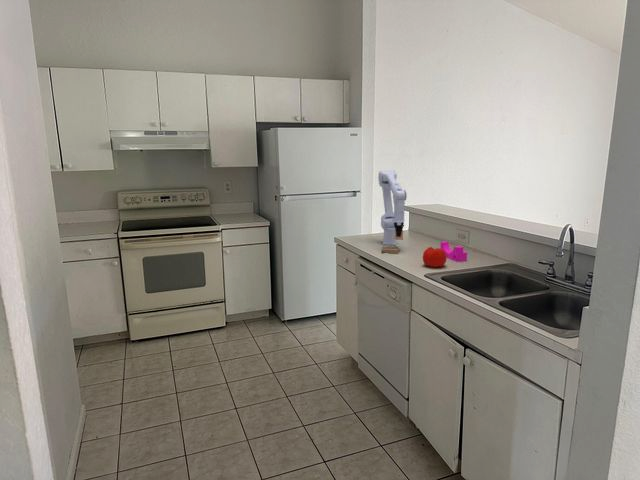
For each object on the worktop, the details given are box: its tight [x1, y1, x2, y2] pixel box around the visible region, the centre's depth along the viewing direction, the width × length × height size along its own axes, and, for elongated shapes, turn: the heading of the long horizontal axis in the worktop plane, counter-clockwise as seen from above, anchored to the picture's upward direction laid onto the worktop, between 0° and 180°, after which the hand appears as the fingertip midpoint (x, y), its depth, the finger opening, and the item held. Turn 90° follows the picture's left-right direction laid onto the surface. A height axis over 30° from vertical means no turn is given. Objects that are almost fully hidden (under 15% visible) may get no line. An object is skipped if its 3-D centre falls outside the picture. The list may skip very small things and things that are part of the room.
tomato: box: [422, 246, 448, 269], centre depth 221 cm, size 11×12×9 cm
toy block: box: [439, 241, 468, 262], centre depth 237 cm, size 15×6×8 cm, turn 18°
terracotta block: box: [395, 229, 404, 241], centre depth 253 cm, size 4×4×5 cm
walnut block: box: [381, 245, 400, 255], centre depth 251 cm, size 9×9×3 cm
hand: (398, 235), depth 254 cm, fingers closed on terracotta block, 4 cm apart
